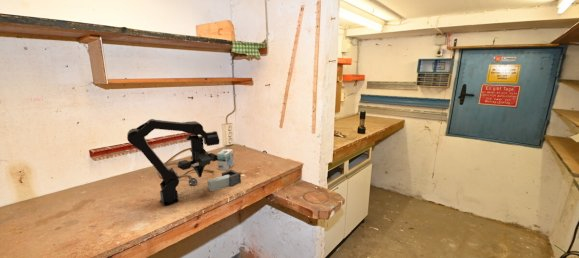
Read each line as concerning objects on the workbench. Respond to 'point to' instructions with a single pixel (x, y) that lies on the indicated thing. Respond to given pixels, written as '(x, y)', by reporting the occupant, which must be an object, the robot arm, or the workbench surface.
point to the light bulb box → (225, 159)
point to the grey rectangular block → (218, 182)
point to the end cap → (233, 177)
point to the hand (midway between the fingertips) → (199, 177)
